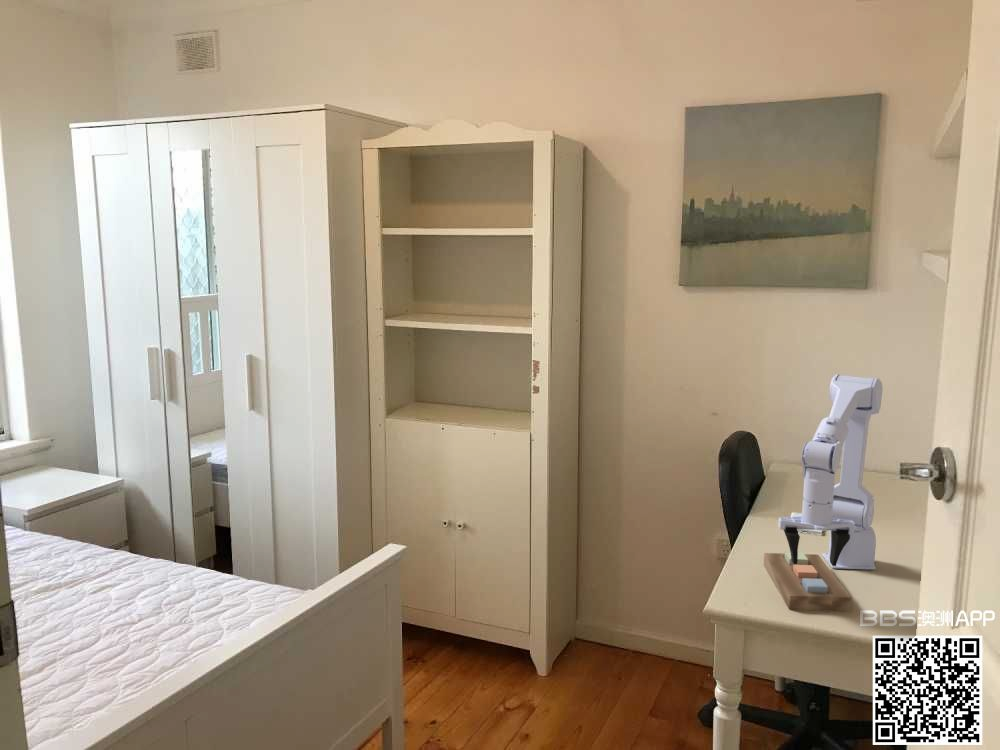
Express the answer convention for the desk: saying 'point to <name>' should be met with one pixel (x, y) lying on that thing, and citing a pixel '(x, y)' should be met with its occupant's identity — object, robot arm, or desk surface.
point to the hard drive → (805, 529)
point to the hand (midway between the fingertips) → (813, 563)
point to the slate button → (814, 585)
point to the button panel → (795, 592)
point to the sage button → (801, 559)
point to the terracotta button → (805, 571)
